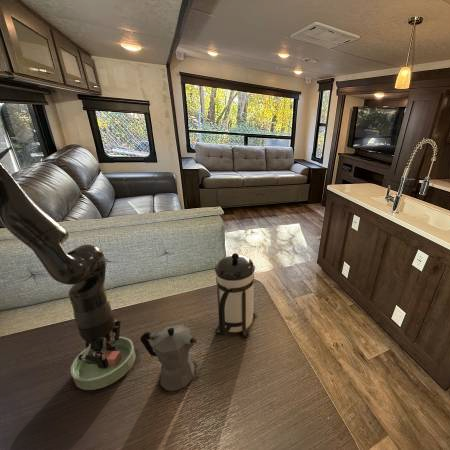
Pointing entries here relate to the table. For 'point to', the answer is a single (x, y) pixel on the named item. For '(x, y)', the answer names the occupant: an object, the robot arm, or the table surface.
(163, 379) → the coffeepot
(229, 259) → the coffee press
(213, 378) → the table surface
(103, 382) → the bowl
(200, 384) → the table surface
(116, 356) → the eraser
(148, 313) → the table surface
